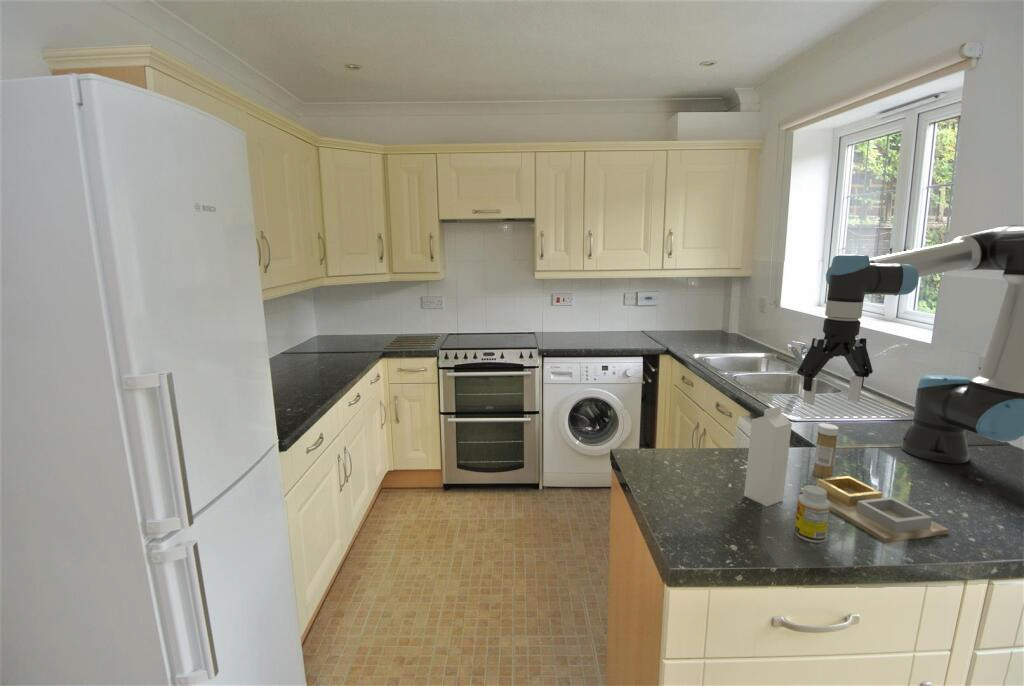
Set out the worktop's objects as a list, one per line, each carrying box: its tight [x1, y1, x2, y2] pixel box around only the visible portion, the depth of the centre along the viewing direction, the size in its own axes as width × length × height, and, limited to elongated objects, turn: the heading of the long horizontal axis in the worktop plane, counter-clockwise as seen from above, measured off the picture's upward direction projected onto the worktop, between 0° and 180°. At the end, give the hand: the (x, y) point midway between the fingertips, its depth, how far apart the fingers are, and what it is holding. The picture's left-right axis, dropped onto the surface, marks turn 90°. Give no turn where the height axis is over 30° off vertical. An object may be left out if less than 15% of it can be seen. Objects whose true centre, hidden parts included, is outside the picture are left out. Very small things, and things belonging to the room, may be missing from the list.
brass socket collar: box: [816, 475, 884, 507], centre depth 118 cm, size 9×9×2 cm
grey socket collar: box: [856, 496, 933, 533], centre depth 108 cm, size 9×9×2 cm
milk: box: [743, 405, 793, 507], centre depth 117 cm, size 6×6×22 cm
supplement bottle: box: [794, 484, 831, 544], centre depth 102 cm, size 6×6×10 cm
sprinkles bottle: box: [812, 422, 840, 479], centre depth 131 cm, size 5×5×13 cm
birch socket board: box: [799, 487, 950, 543], centre depth 113 cm, size 16×22×1 cm
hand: (831, 402), depth 128 cm, fingers open, 13 cm apart
